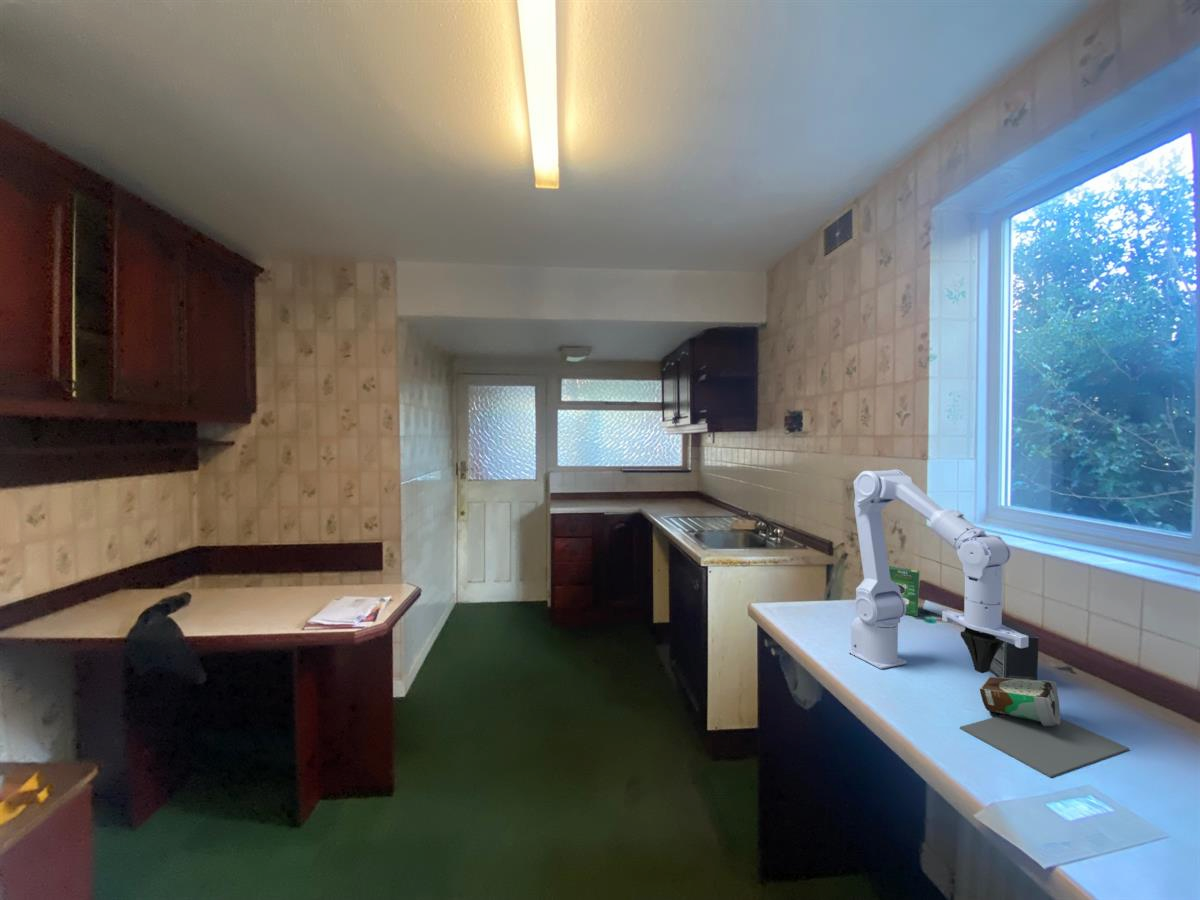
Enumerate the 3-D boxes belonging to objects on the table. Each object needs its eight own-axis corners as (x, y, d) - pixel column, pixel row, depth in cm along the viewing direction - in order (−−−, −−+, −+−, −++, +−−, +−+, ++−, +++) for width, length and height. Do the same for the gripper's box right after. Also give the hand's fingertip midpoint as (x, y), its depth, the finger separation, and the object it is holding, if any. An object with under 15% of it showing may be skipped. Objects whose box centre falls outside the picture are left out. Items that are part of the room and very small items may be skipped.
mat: (959, 728, 92) (959, 726, 92) (1034, 707, 99) (1034, 706, 99) (1050, 777, 79) (1050, 775, 79) (1129, 749, 86) (1129, 748, 86)
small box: (1040, 687, 107) (1041, 637, 106) (1004, 684, 108) (1005, 635, 108) (1010, 664, 117) (1011, 618, 117) (978, 662, 118) (979, 617, 118)
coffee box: (919, 614, 149) (919, 569, 149) (918, 617, 147) (919, 571, 147) (887, 609, 154) (888, 565, 153) (886, 612, 152) (886, 567, 151)
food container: (984, 726, 94) (1057, 738, 87) (977, 690, 95) (1048, 699, 88) (996, 707, 102) (1063, 716, 95) (990, 674, 103) (1055, 681, 96)
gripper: (1040, 609, 92) (1039, 684, 93) (959, 587, 106) (959, 652, 106) (1013, 614, 90) (1012, 691, 90) (934, 590, 104) (934, 657, 104)
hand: (981, 670), depth 98 cm, fingers closed
